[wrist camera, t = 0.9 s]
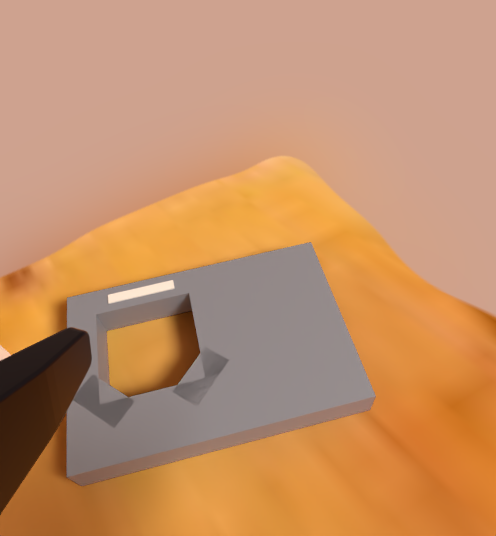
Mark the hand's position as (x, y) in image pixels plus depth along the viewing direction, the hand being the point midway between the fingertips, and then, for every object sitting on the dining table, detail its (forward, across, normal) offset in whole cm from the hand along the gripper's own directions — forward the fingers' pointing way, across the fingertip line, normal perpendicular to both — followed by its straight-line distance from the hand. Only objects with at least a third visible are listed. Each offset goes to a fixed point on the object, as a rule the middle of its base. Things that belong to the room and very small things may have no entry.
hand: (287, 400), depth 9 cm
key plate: (+12, +5, +13) cm, 18 cm away
